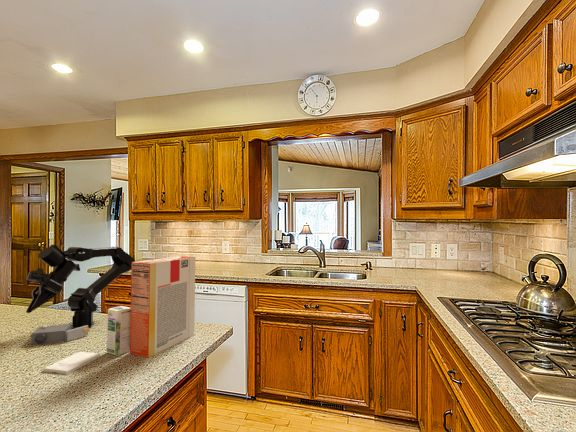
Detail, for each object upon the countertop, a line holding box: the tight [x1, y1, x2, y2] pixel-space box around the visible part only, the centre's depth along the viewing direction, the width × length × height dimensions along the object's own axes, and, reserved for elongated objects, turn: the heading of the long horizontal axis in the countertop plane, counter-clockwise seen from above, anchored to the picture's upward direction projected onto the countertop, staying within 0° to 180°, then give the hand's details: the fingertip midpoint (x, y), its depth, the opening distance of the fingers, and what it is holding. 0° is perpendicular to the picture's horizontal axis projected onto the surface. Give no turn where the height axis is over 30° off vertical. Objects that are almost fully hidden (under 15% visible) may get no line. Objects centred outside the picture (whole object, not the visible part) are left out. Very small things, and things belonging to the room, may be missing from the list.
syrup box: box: [106, 305, 131, 357], centre depth 110 cm, size 6×6×14 cm
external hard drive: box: [42, 351, 101, 375], centre depth 100 cm, size 2×8×12 cm
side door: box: [63, 325, 90, 343], centre depth 121 cm, size 2×9×4 cm, turn 154°
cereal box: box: [129, 255, 196, 358], centre depth 118 cm, size 23×8×30 cm, turn 158°
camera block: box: [30, 323, 72, 346], centre depth 120 cm, size 10×9×5 cm
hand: (30, 311), depth 117 cm, fingers open, 9 cm apart
